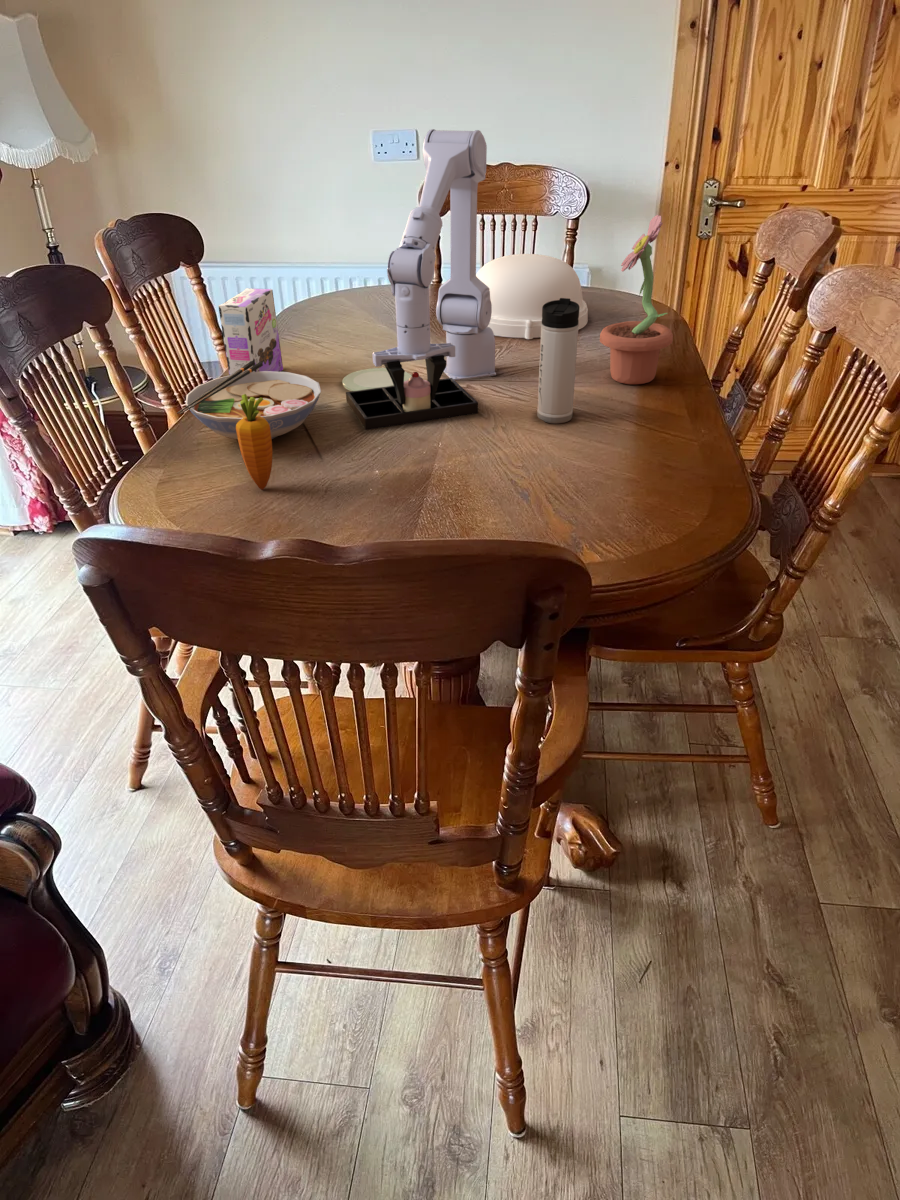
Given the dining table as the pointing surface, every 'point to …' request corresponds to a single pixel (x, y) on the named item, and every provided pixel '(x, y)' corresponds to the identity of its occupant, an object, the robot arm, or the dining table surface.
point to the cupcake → (416, 393)
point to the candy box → (251, 331)
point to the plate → (369, 379)
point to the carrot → (255, 442)
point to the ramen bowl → (280, 406)
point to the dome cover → (528, 292)
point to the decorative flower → (638, 324)
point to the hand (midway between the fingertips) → (416, 400)
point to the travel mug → (557, 360)
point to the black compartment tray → (386, 411)
